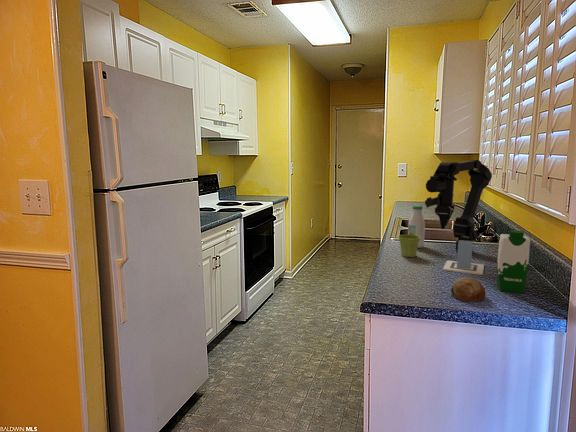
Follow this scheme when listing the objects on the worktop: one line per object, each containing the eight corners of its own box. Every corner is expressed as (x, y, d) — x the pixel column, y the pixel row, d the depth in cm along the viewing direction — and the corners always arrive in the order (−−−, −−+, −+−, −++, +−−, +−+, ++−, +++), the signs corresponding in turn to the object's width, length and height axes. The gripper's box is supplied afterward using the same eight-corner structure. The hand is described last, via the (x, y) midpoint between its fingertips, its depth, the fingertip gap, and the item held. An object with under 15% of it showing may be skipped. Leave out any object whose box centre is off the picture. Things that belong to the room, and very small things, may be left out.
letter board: (484, 265, 166) (484, 264, 166) (482, 275, 154) (482, 273, 154) (447, 261, 172) (447, 260, 172) (442, 270, 160) (442, 268, 160)
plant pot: (412, 259, 176) (412, 239, 175) (393, 255, 183) (394, 236, 182) (423, 256, 182) (424, 236, 181) (405, 252, 189) (406, 233, 188)
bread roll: (449, 302, 136) (441, 281, 135) (477, 288, 137) (469, 267, 135) (465, 313, 127) (456, 291, 125) (495, 299, 127) (486, 276, 125)
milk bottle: (421, 244, 204) (423, 204, 201) (425, 248, 196) (427, 206, 193) (405, 244, 205) (407, 204, 201) (408, 248, 197) (410, 206, 194)
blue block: (457, 264, 166) (459, 240, 165) (470, 265, 164) (472, 241, 163) (456, 267, 162) (458, 242, 160) (470, 268, 160) (472, 243, 158)
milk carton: (497, 291, 136) (502, 232, 132) (493, 283, 144) (498, 227, 141) (528, 294, 133) (533, 233, 130) (522, 286, 141) (527, 228, 138)
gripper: (429, 188, 189) (428, 222, 192) (423, 192, 173) (421, 229, 175) (456, 190, 184) (453, 224, 187) (451, 193, 168) (449, 231, 170)
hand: (444, 227), depth 180 cm, fingers open, 9 cm apart
